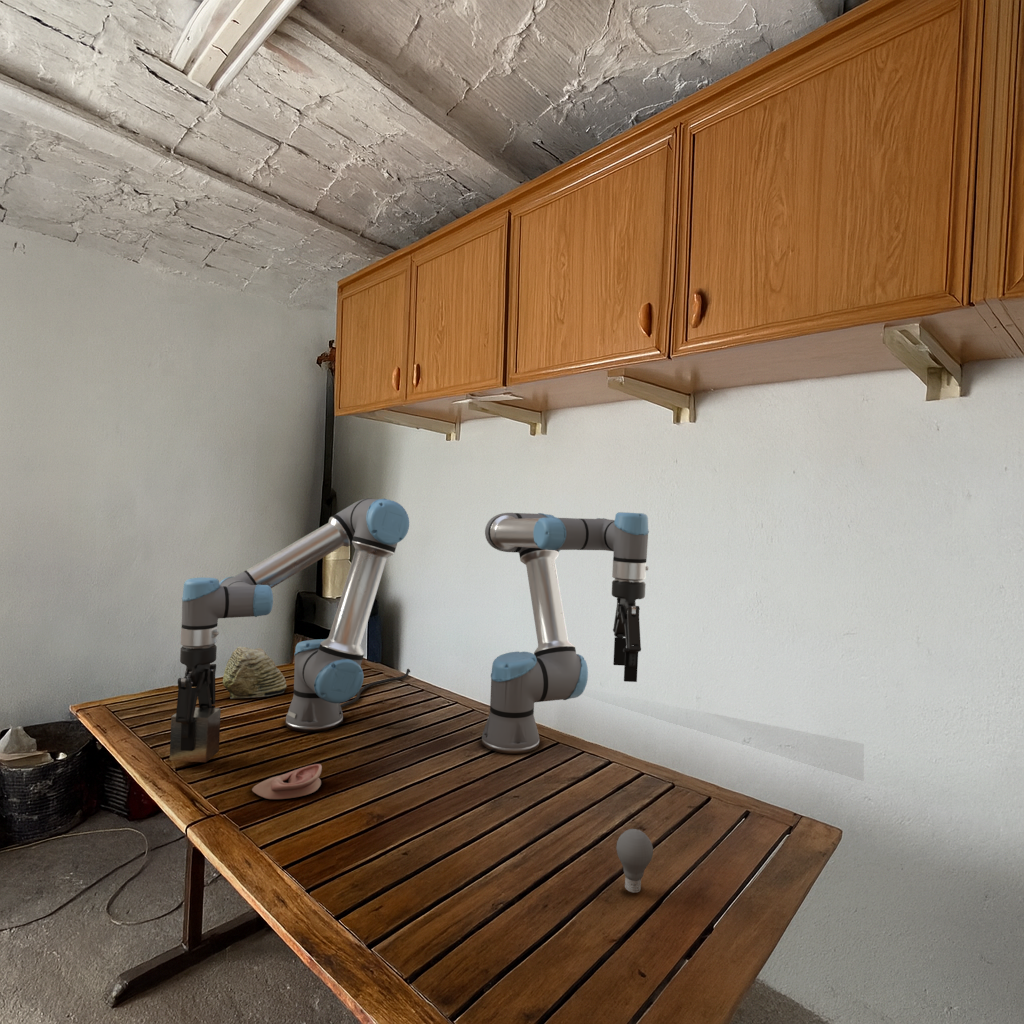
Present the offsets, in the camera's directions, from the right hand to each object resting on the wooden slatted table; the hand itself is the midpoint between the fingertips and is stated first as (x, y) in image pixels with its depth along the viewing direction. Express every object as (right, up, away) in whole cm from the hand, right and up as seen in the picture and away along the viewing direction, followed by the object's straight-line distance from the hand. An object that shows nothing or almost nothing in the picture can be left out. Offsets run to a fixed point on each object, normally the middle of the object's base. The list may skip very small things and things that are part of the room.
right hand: (624, 672), depth 145 cm
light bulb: (-6, -27, -39) cm, 47 cm away
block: (-99, -20, +2) cm, 101 cm away
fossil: (-106, -21, +53) cm, 121 cm away
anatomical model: (-74, -23, -8) cm, 78 cm away
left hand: (-99, -17, +2) cm, 101 cm away
